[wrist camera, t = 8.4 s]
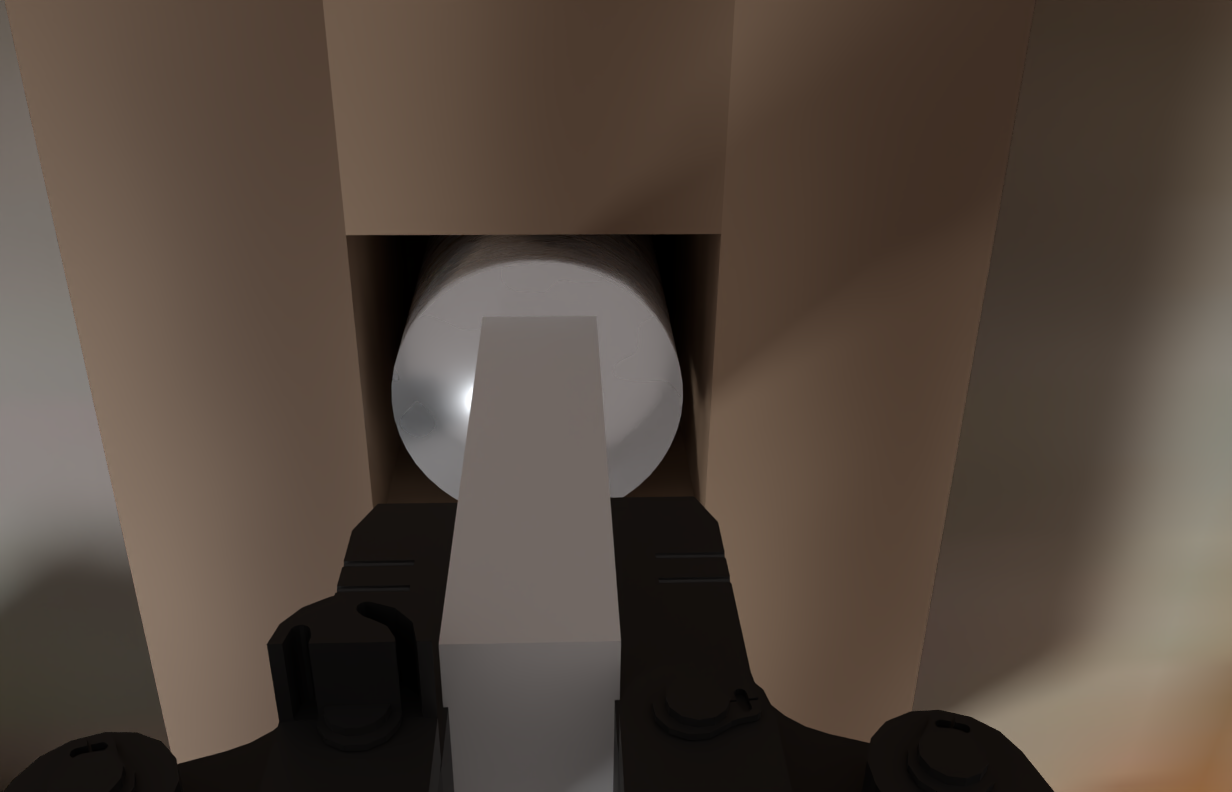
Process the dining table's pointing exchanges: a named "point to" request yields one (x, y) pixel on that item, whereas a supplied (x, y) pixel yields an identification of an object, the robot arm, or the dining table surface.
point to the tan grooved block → (526, 205)
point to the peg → (537, 287)
